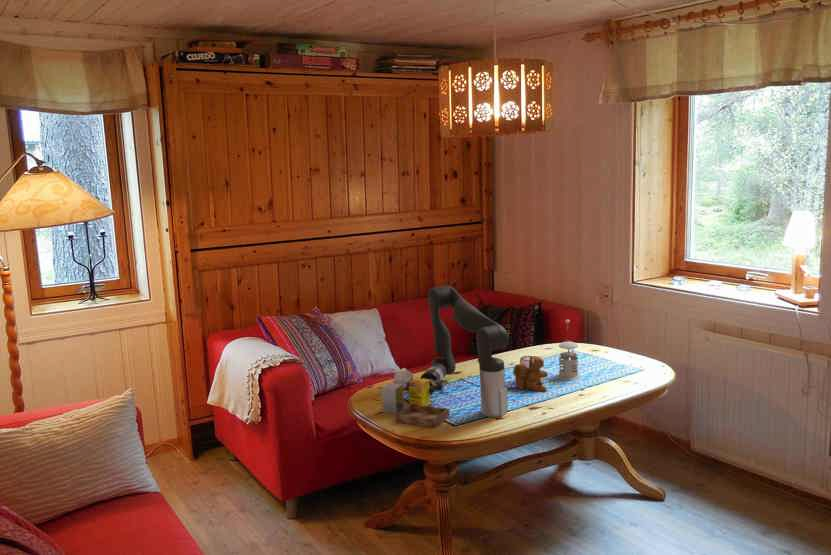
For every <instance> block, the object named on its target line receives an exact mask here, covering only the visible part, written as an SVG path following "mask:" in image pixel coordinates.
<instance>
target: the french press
mask: <svg viewBox="0 0 831 555" xmlns="http://www.w3.org/2000/svg"><path fill="white" fill-rule="evenodd" d="M565 323H566V324H567V325H566V326H567V328H566V329H569V323H571V320H570V319H565ZM558 347H559V348H560V349H565V350H567V351H564V352H563V351H562V352H561V353H559V357H558V363H559V365H558V367H559V368H558V370H559V372H558V374H557V378H558V379H560V380H564V381H565V380H567V381H572V380H578V379H580V378H581V375H580V374H579V359H578V357H577V356H578V354H577V353H576V352H574V350H573V349H576V348H578V343H576V342H574V341H571V340H570V341H569V340H567V341H563V342H561V343H559V344H558ZM570 350H571V352H570Z"/></svg>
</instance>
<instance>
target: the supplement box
mask: <svg viewBox="0 0 831 555" xmlns="http://www.w3.org/2000/svg"><path fill="white" fill-rule="evenodd" d="M429 389H430V383H429V380H428V379H421V377H416V378H413V380H411V381H409V391H408V392H409V393H408V394H409V396H408V397H409V405H411V404H417V405H425V406H431V394H430V390H429Z"/></svg>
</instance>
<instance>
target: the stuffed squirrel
mask: <svg viewBox="0 0 831 555" xmlns="http://www.w3.org/2000/svg"><path fill="white" fill-rule="evenodd" d="M528 360H529V361H528V367H527V365H526V364H525V363H521V364H520V363H519V364H515V366H513V367H512V368H513V370H512V372H513V373H512V374H513V375H514V376H515V377H514V379H515V384H516V386H517V387H518V388H519V389H520V390H529V391H533V392H547V387H546V386H545V385H544V384H545V383H544V381H543V379H544V378H547V377H548V372H547V371H545V370H543V369H545V366H544V364H545V361H544V359H543V358H541V357H539V356H532V355H530V356H529V359H528ZM541 368H543V369H541ZM542 378H543V379H542Z"/></svg>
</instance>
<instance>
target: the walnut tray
mask: <svg viewBox="0 0 831 555" xmlns="http://www.w3.org/2000/svg"><path fill="white" fill-rule="evenodd" d="M395 416H396V423H399V424H405V425H406V424H407V425H413V426H419V427H426V428H433V429H434V428H435V429H436V428H437V427H438V426H440V425H441V424H442V423H443V422H445V421H446V420H448V419H449V418H450V417H449V416H450V408H446V407H438V406H425V405H417V404H411V405H410V404H409V405H408V406H407V407H404V409H403V410H402V411H400V412H399V413H398V414H395Z"/></svg>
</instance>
